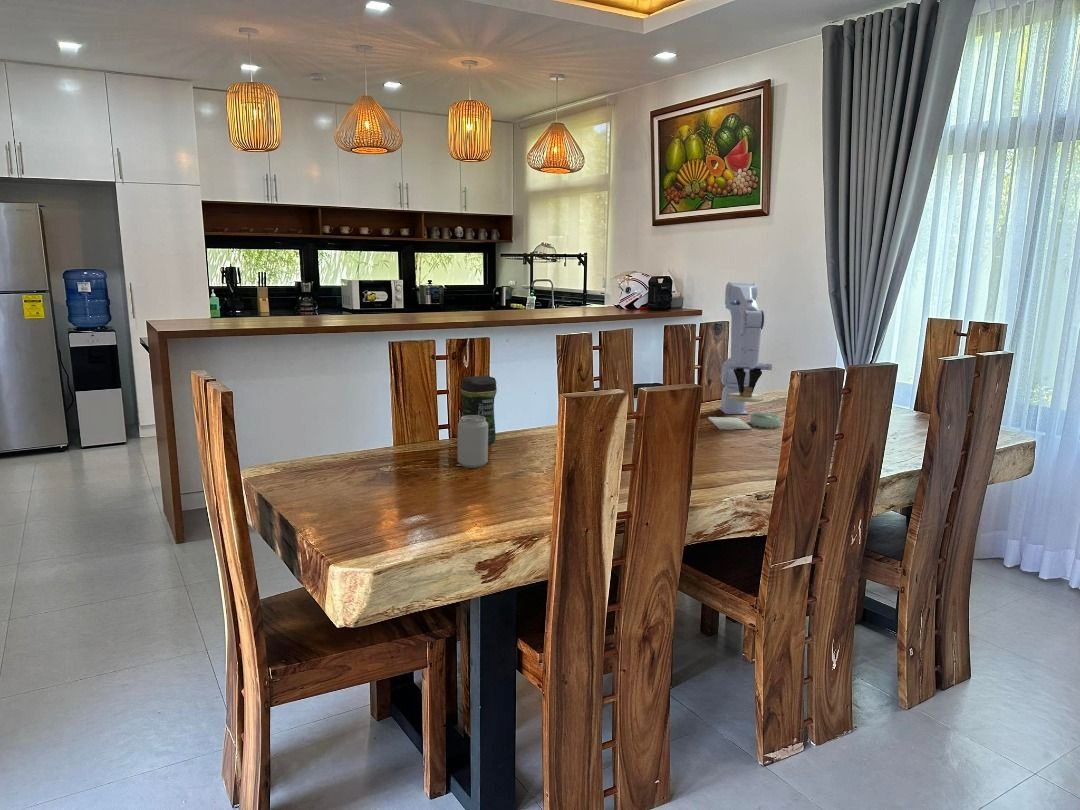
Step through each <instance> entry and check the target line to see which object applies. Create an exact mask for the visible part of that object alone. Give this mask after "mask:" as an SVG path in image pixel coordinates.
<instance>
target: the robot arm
mask: <svg viewBox="0 0 1080 810" xmlns="http://www.w3.org/2000/svg"><path fill="white" fill-rule="evenodd" d="M724 292H725V293H724V294H725V295H724V299H725V300H724V301H725V302H724V305H725V309H727V310H728V311H730V316H731V318H730V319H731V320H730V321H731V322H730V323H731V325H730V326H731V327H730V357H729V358H727V359H726V360H725V361H724V362H723V363H722V365H721V372H720V380H721V384H722V385H724V387H723V388H722V391H721V402H720V404H721V405H720V406H718V407H717V408H718V409H719V410H720V411H721V412H723V414H725V415H749V412H748V411H747V410H746V403H747V402H743V401H736V400H732V399H729V398H728V394H729V393H743V390H744V385H745V386H750V387H752V394H754V390H755V387H756V385H757V382H758V381H759V379H760V377H761V376H762V373H763V371H772V368H773V364H772V363H770V362H769V363H768V362H767V363H765V362H759V355H760V344H761V334H762V330H763V329H764V326H765V312H764V310H762V309H761V310H760V309H759V306H758V303H757V301H756V299H757V296H758V285H757V283H755V282H731V281H728V282H727V284H726V285H725V291H724Z"/></svg>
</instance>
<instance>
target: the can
mask: <svg viewBox="0 0 1080 810" xmlns="http://www.w3.org/2000/svg"><path fill="white" fill-rule="evenodd" d="M485 420H486V418H485V417H483V416H478V415H467V416H462V415H461V417H460V418H459V422H457V463H458V464H460V465H461V466H462V467H465V468H469V469H470V468H471V469H473V468H481V467H483V466H485V465H486V464H487V463H488V460H489V457H488V456H489V444H488V423H487V422H486V421H485Z"/></svg>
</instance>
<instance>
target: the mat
mask: <svg viewBox="0 0 1080 810" xmlns="http://www.w3.org/2000/svg"><path fill="white" fill-rule="evenodd" d="M707 420H708V421H709V422H711V423H712V424H713V425H714V426H715V427H717V429H719V430H735V429H752V430H753V427H751V425H749V424H747V423H746V422H745V421H743V420H742V419H741V418H739V417H735V416H733V417H730V416H729V417H728V416H727V417H725V416H723V417H722V416H720V417H719V416H718V417H717V416H707Z"/></svg>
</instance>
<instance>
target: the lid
mask: <svg viewBox="0 0 1080 810" xmlns="http://www.w3.org/2000/svg"><path fill="white" fill-rule="evenodd" d="M728 398H729V399H732V400H736V401H743V402H746V403H759V402H763V401H764V400H765V399H764V395H760V394H756V393H752V387H750V386H745V385H744V390H743V393H729V394H728Z"/></svg>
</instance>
